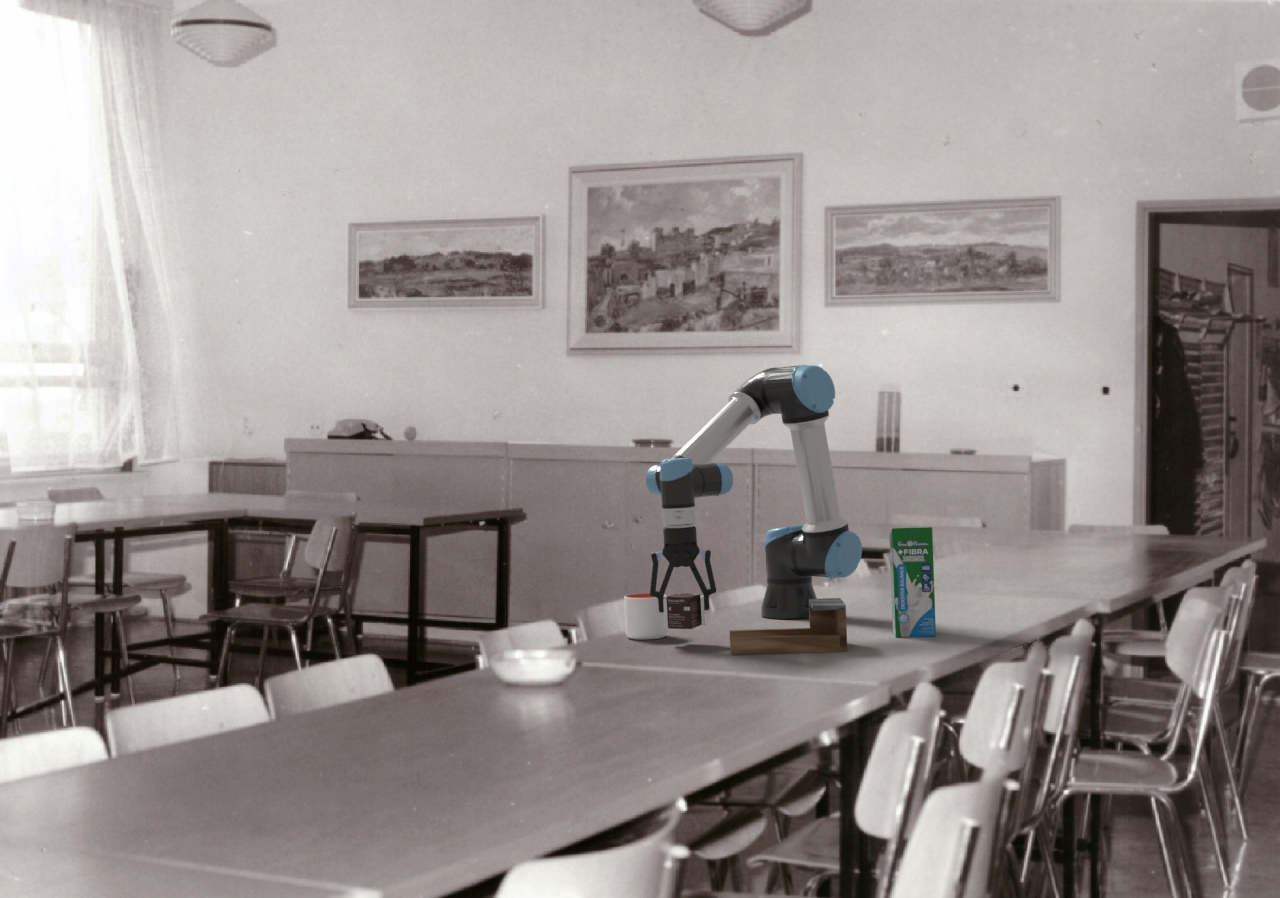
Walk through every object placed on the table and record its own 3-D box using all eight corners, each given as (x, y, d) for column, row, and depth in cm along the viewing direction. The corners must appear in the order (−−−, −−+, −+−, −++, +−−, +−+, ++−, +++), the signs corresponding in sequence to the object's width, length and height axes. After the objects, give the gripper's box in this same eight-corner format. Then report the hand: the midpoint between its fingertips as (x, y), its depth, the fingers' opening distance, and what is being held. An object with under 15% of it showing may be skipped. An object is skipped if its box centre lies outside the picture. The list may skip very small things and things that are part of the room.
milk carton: (931, 631, 336) (928, 524, 336) (936, 636, 328) (932, 526, 327) (892, 631, 337) (889, 525, 337) (895, 637, 328) (891, 527, 328)
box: (667, 629, 328) (665, 597, 328) (678, 624, 333) (677, 593, 333) (691, 629, 325) (689, 597, 325) (702, 625, 331) (700, 593, 330)
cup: (663, 640, 337) (662, 597, 337) (621, 640, 339) (620, 598, 339) (671, 634, 347) (669, 592, 347) (630, 634, 349) (629, 593, 349)
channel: (730, 645, 325) (728, 601, 325) (841, 642, 324) (840, 597, 324) (731, 654, 312) (729, 608, 312) (847, 651, 311) (845, 604, 311)
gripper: (633, 529, 325) (639, 630, 326) (725, 524, 324) (730, 625, 325) (635, 526, 333) (640, 625, 333) (724, 522, 332) (729, 620, 333)
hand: (685, 625), depth 329 cm, fingers closed on box, 8 cm apart
